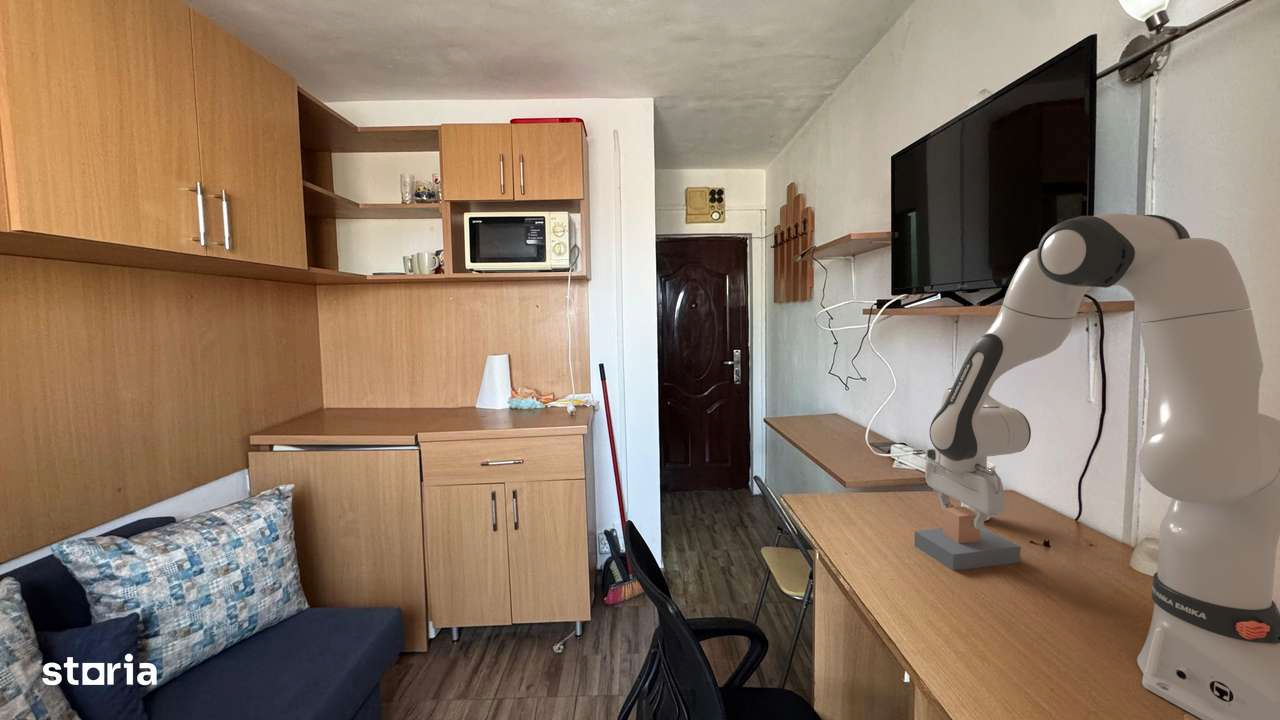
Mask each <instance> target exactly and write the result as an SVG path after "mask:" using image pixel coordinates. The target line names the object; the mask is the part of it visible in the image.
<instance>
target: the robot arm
mask: <svg viewBox="0 0 1280 720" xmlns="http://www.w3.org/2000/svg"><path fill="white" fill-rule="evenodd" d="M1037 247H1038V248H1036V249H1034V250H1032V251H1029V252H1028V253H1027V254H1026V255H1025V256H1024V257H1023V258H1022V260H1021V262H1020V263H1019V265H1018V267H1017V269H1016V271H1015V273H1014V274H1013V277H1012V279H1011V281H1010V282H1009V286H1008V288H1007V290H1006V293H1005V294H1004V295H1005V296H1004V299H1003V302H1002V305H1001V307H1000V310H999V311H998V314H997V316H996V318H995V319H994V321H993V322H992V324H991V326H990V327H989V328H988V330H987V331H985V333H984V334H983V335H982V336H980V338H978V339H977V340H976V341H975V342H974V343H973V345H972V347H971V348H970V350H969V352H968V354H967V356H966V357H965V359H964V362H963V363H962V365H961V368H960V370H959V372H958V374H957V376H956V379H955V380H954V383H953V385H952V387H949V388H947V389H945V391H944V393H943V396H942V399H941V404H940V405H941V407H940V409H939V410H938V411H937V412H936V415H935V416H934V417H933V419H932V421H931V423H930V426H929V439H930V441H931V444H932V446H933V447H929V448H925V450H924V451H925V452H924V454H925V458H927V459H926V461H925V470H924V472H925V481H926V483H927V485H928V487H930V488H932V489H933V490H936V491H937V496H938V498H939V501H940V504H941V510H942V511H943V512H944V508H950V507H954V504H952V503H951V499H950V498H953V500H956V501H958V502H960V503H961V502H962V503H964V504H966V505H968V506H970V507H972V508H974V509H975V514H977V515H976V517H975V519H971V522H972V524H971V526H972V527H974V528H976V529H983V528H985V520H986V518H987V517H988V516H989V515H990V516H998V515H1002V514H1003V513H1004V512H1005V511H1006V510H1005V509H1006V508H1005V506H1006V505H1005V492H1004V491H1005V490H1004V486H1003V482H1002V479H1001V477H1000V475H998V474H997V471H996V470H995V471H994V470H993V469H989V468H987V462H988V457H996V456H1003V455H1004V456H1005V455H1012V454H1016V453H1021V452H1023V451H1025V449H1026V448H1027V447H1028V446H1029V443H1030V441H1031V437H1032V436H1031V435H1032V432H1031V431H1032V429H1031V425H1030V423H1029V421H1028V419H1027V417H1026V416H1025V414H1023V413H1022V412H1021V411H1020V410H1018V409H1016V408H1014V407H1009V406H1008V405H1006V404H1003V403H1001V402H999V401H998V400H996V399H995V398H993V397H992V396H991V395H990V394H989V393H990V391H991V389H992V388H993V386H994V384H995V382H996V381H997V380H998V379H999V378H1001V376H1003V375H1004V374H1006V373H1007V372H1009V371H1011V370H1012V369H1015V368H1016V367H1019V366H1020V365H1023V364H1026V363H1028V362H1032V361H1034V360H1037V359H1041V358H1043V357H1046V356H1047V355H1049V354H1051V353H1053V352H1055V351H1056V350H1058V349H1059V348H1060V347H1061V346H1062V345H1063V343H1064V342H1065V340H1066V339H1067V338H1068V336H1069V334H1070V333H1071V331H1072V328H1073V326H1074V322H1075V320H1076V317H1077V315H1078V314H1077V313H1078V311H1079V308H1080V306H1081V303H1082V300H1083V298H1084V296H1085V294H1086V293H1087V291H1089V290H1090V289H1091V288H1092V287H1093V288H1107V289H1108V288H1111V287H1112V286H1119V287H1122V288H1124V289H1126V290H1127V291H1128V292H1129V293H1130V294H1131V296H1132V297H1133V300H1134V302H1135V303H1134V304H1135V307H1136V313H1137V318H1138V324H1139V329H1140V334H1141V339H1142V345H1143V350H1144V355H1145V361H1146V367H1147V373H1148V395H1147V409H1146V410H1147V413H1146V431H1145V432H1146V433H1145V437H1144V438H1145V439H1144V441H1143V444H1142V445H1141V448H1140V451H1139V453H1138V466H1139V469H1140V471H1141V472H1140V473H1141V474H1142V476H1143V477H1144V479H1145V480H1146V481H1147V482H1148V483H1149V485H1150V486H1151V487H1153V488H1154V489H1155V490H1157V491H1158V492H1159V493H1161V494H1163V495H1165V496H1166V497H1169V498H1171V499H1170V504H1169V506H1168V509H1167V511H1166V513H1165V515H1164V517H1163V518H1162V520H1161V522H1160V526H1159V541H1158V542H1159V543H1158V555H1157V556H1158V559H1157V560H1158V561H1157V571H1156V572H1155V573H1154V574H1153V577H1152V585H1151V586H1152V587H1151V598H1152V599H1151V600H1152V601H1153V602H1154V606H1153V612H1152V617H1151V622H1150V626H1149V630H1148V634H1147V637H1146V638H1145V639H1146V640H1145V641H1144V644H1143V647H1142V648H1141V650H1140V653H1138V655H1137V659H1136V662H1137V665H1138V667H1139V669H1140V670H1141V672H1142V674H1143V675H1142V680H1141V683H1142V684H1141V685H1142V686H1143V687H1144V688H1145V689H1147V690H1148V691H1149V692H1151V693H1153V694H1154V695H1156V696H1159V697H1161V698H1162V699H1164V700H1166V701H1167V702H1169V703H1172V704H1174V705H1175V706H1177V707H1179V708H1181V710H1184V711H1186V712H1188V713H1189V714H1191V715H1193V716H1195V717H1197V718H1199V719H1200V720H1280V611H1279V609H1278V607H1277V604H1276V602H1275V601H1274V600H1273V593H1274V581H1275V572H1276V571H1275V570H1276V569H1275V568H1276V560H1277V559H1276V558H1277V557H1276V556H1277V550H1278V549H1277V548H1278V545H1279V539H1280V420H1279V419H1277V418H1275V417H1272V416H1269V415H1266V414H1263V413H1259V404H1260V403H1259V402H1260V397H1259V396H1260V384H1261V378H1262V374H1263V371H1264V363H1263V359H1262V353H1261V349H1260V344H1259V340H1258V335H1257V331H1256V326H1255V321H1254V317H1253V310H1252V309H1251V308H1252V306H1251V303H1250V299H1249V295H1248V292H1247V289H1246V285H1245V283H1244V280H1243V278H1242V275H1241V273H1240V271H1239V269H1238V266H1237V264H1236V263H1235V260H1234V258H1233V257H1232V254H1231V253H1230V251H1229V249H1228V248H1227V247H1226V245H1224V244H1222V243H1221V242H1219V241H1217V240H1214V239H1209V238H1204V237H1203V238H1202V237H1201V238H1200V237H1199V238H1198V237H1191V236H1190V233H1189V232H1188V230H1187V229H1186V227H1185V226H1183V225H1182V224H1181V223H1180V222H1179V221H1176V220H1174V219H1172V218H1170V217H1167V216H1162V215H1158V214H1144V215H1143V214H1141V215H1140V214H1128V213H1119V212H1117V213H1116V212H1115V213H1106V214H1105V213H1103V214H1097V215H1079V216H1077V217H1073V218H1070V219H1069V218H1068V219H1066V220H1064V221H1062V222H1059V223H1057V224H1056V225H1055V224H1054V226H1052V227H1051V228H1050V229H1049V230H1048V231H1047V232H1045V234H1044V235H1043V236H1042V238H1041V240H1040V242H1039V244H1038V246H1037ZM986 521H987V520H986Z"/></svg>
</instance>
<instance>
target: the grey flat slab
mask: <svg viewBox="0 0 1280 720" xmlns="http://www.w3.org/2000/svg"><path fill="white" fill-rule="evenodd" d="M914 547H916V548H917V549H919V550H920V551H921V552H923V553H925V554H927V555H928V556H930V557H931V558H932V559H934V560H936V561H937V562H939V563H940V564H942V565H944V566H945V567H947V568H948V569H950V570H951V571H954V572H955V571H960V570H969V569H977V568H978V569H979V568H985V567H994V566H1000V565H1001V566H1002V565H1009V564H1010V565H1011V564H1018V563H1021V549H1022V548H1021V545H1019V544H1017V543H1015V542H1012V541H1010V540H1009V539H1007V538H1005V537H1002V536H1000V535H999V534H997V533H995V532H993V531H990V530H989V529H987V528H985V527H984V528H983V529H980V541H979V542H967V543H957V542H956V541H954V540H952V539H951V538H949V537H948V536H946V535H944V534H943V527H941V528H931V529H923V530H915V531H914Z"/></svg>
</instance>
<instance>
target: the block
mask: <svg viewBox="0 0 1280 720" xmlns="http://www.w3.org/2000/svg"><path fill="white" fill-rule="evenodd" d="M942 513H943V514H942V515H943V516H942V517H943V520H942V521H943V522H942V524H943V526H942V528H943V534H944V535H946V536H948V537H949V538H951V539H952V540H954V541H956V542H957V543H967V542H979V541H980V529H976V528H974V527H972V526H971V524H972V522H971V519H975V517H976V515H977V514H975V512H974V511H972V510H970V509H968V508H966V507H961V506H955V507H954V506H953V507H950V508H944V511H943V512H942Z"/></svg>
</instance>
